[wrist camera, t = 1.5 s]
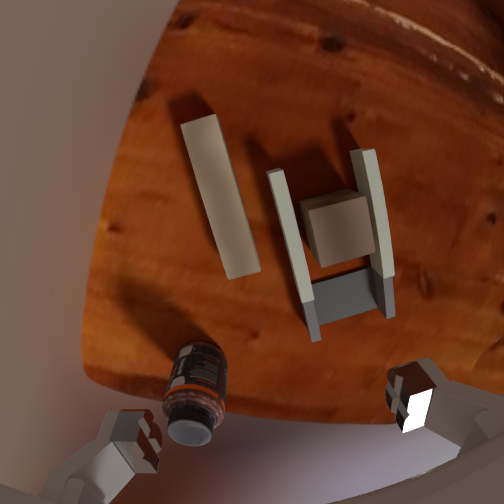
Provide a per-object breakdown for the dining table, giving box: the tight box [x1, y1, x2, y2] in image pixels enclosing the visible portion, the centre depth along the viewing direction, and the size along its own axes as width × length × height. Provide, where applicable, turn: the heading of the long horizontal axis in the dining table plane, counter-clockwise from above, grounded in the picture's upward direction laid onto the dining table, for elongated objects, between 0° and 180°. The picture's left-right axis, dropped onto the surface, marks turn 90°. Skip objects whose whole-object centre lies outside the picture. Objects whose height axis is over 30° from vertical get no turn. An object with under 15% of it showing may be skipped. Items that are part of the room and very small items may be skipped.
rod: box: [180, 114, 261, 280], centre depth 28 cm, size 3×14×4 cm, turn 15°
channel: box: [266, 149, 395, 342], centre depth 29 cm, size 9×17×4 cm, turn 16°
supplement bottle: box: [162, 341, 227, 446], centre depth 29 cm, size 6×6×11 cm
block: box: [298, 189, 375, 268], centre depth 28 cm, size 5×5×5 cm
